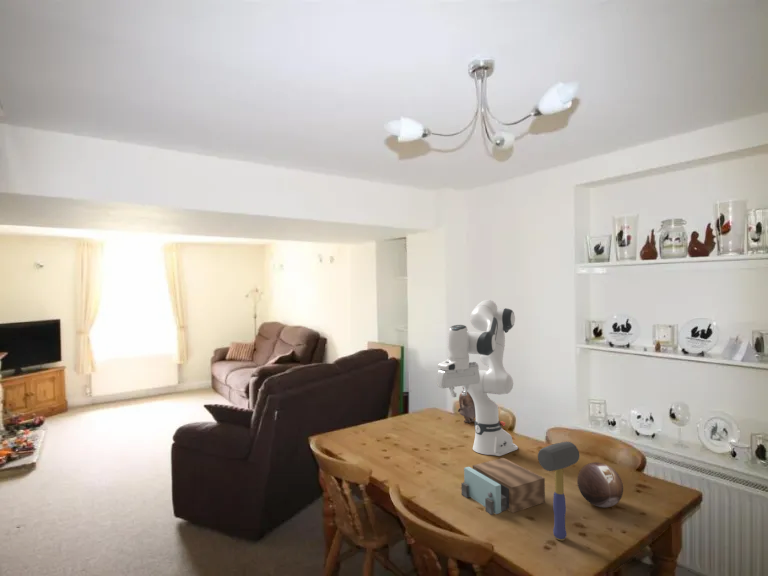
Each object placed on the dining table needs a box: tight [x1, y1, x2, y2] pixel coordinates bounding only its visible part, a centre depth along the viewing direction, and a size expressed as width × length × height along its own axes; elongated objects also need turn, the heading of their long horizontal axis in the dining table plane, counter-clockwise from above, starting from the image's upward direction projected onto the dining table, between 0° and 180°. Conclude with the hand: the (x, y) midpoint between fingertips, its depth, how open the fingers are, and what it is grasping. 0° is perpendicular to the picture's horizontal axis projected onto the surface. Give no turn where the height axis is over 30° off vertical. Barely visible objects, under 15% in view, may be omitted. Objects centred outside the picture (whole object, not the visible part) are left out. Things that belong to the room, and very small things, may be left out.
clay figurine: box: [457, 386, 476, 424], centre depth 259 cm, size 13×10×25 cm
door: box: [463, 466, 502, 515], centre depth 162 cm, size 3×18×10 cm, turn 27°
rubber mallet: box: [537, 441, 580, 541], centre depth 138 cm, size 12×8×30 cm, turn 120°
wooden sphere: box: [576, 461, 624, 508], centre depth 159 cm, size 15×15×15 cm
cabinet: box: [461, 457, 546, 516], centre depth 166 cm, size 24×22×9 cm
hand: (459, 396), depth 184 cm, fingers open, 4 cm apart
